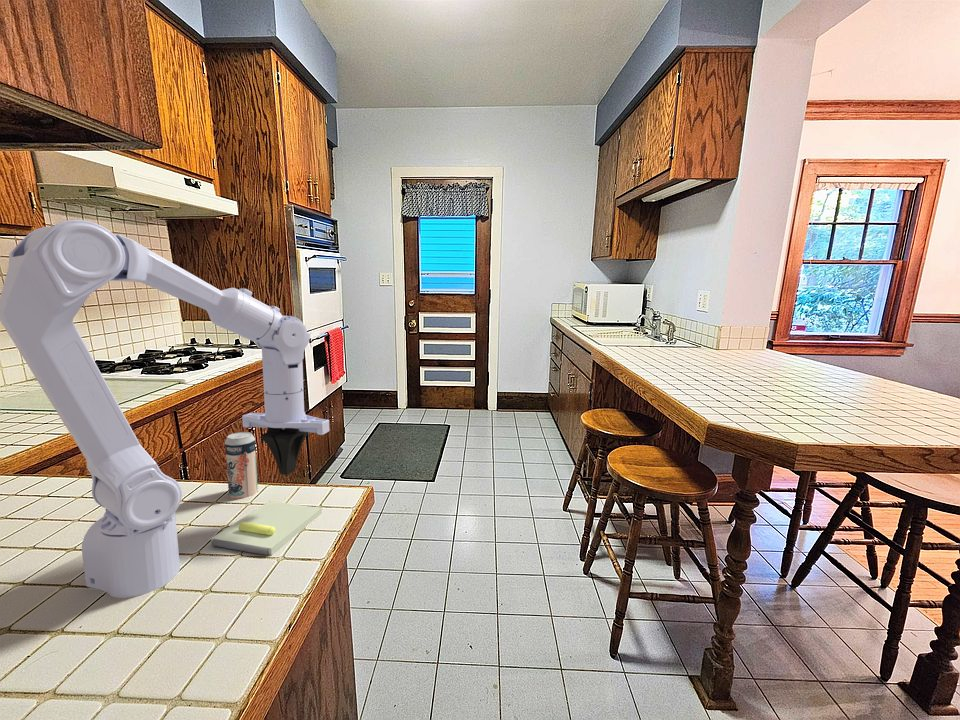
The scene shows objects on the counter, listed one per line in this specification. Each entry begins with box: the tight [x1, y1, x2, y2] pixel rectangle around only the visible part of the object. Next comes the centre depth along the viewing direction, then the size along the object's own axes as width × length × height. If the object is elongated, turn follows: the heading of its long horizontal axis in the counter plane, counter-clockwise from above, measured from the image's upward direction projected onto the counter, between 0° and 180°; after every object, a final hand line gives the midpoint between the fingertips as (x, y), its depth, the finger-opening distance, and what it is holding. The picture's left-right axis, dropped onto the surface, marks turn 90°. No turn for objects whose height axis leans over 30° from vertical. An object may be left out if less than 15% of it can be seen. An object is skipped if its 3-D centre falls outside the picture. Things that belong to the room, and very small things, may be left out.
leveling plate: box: [210, 500, 323, 556], centre depth 65 cm, size 10×12×2 cm
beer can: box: [224, 431, 259, 500], centre depth 76 cm, size 5×5×12 cm
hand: (287, 472), depth 68 cm, fingers closed
